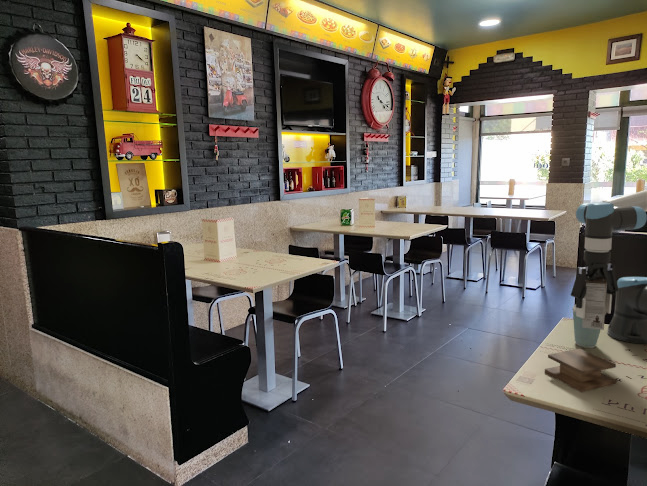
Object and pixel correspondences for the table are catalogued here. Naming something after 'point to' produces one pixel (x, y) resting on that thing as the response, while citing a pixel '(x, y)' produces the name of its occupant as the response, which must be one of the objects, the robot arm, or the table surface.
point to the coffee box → (595, 304)
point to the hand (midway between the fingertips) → (593, 314)
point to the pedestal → (581, 370)
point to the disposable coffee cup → (584, 332)
